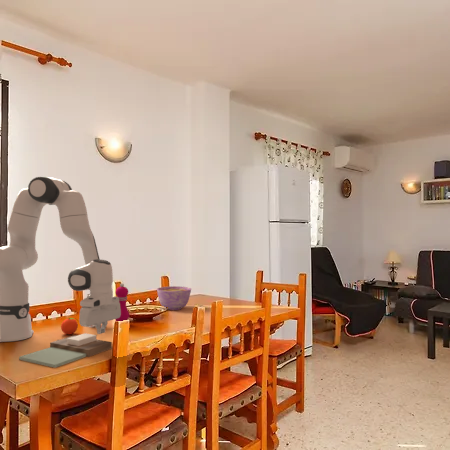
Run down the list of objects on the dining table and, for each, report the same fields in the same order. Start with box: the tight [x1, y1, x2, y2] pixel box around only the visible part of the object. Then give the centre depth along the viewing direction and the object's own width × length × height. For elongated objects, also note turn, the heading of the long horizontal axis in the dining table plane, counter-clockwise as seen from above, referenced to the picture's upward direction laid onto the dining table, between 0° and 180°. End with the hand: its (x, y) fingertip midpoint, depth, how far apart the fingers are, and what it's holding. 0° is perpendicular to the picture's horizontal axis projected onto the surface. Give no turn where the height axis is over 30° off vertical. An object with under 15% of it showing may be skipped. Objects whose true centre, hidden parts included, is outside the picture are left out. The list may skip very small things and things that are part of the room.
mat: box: [18, 346, 87, 369], centre depth 150 cm, size 18×14×1 cm
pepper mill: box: [114, 282, 130, 323], centre depth 201 cm, size 7×7×20 cm
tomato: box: [60, 317, 80, 335], centre depth 183 cm, size 8×7×7 cm
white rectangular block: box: [66, 332, 97, 346], centre depth 162 cm, size 6×9×2 cm, turn 153°
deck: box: [49, 335, 113, 358], centre depth 161 cm, size 20×12×2 cm, turn 63°
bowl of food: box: [156, 285, 192, 311], centre depth 242 cm, size 20×20×12 cm
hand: (101, 333), depth 170 cm, fingers closed
